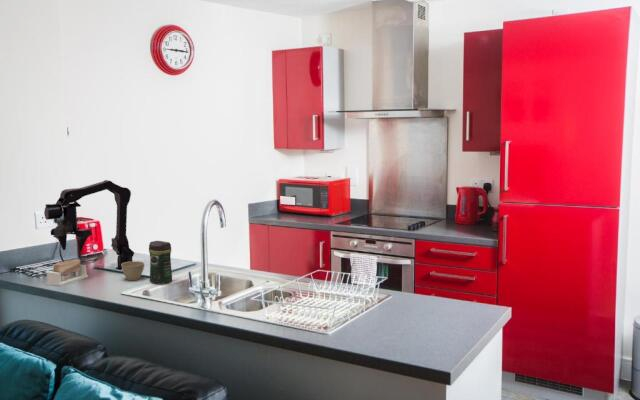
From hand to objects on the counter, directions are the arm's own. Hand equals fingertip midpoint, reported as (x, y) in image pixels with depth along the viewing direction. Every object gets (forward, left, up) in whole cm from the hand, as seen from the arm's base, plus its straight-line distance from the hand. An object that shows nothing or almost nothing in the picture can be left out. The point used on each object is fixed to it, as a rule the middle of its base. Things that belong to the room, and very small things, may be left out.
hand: (72, 250), depth 278 cm
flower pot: (-29, -6, -12) cm, 32 cm away
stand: (-3, +7, -12) cm, 14 cm away
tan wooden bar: (-3, +7, -8) cm, 11 cm away
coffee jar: (-44, -6, -12) cm, 46 cm away
